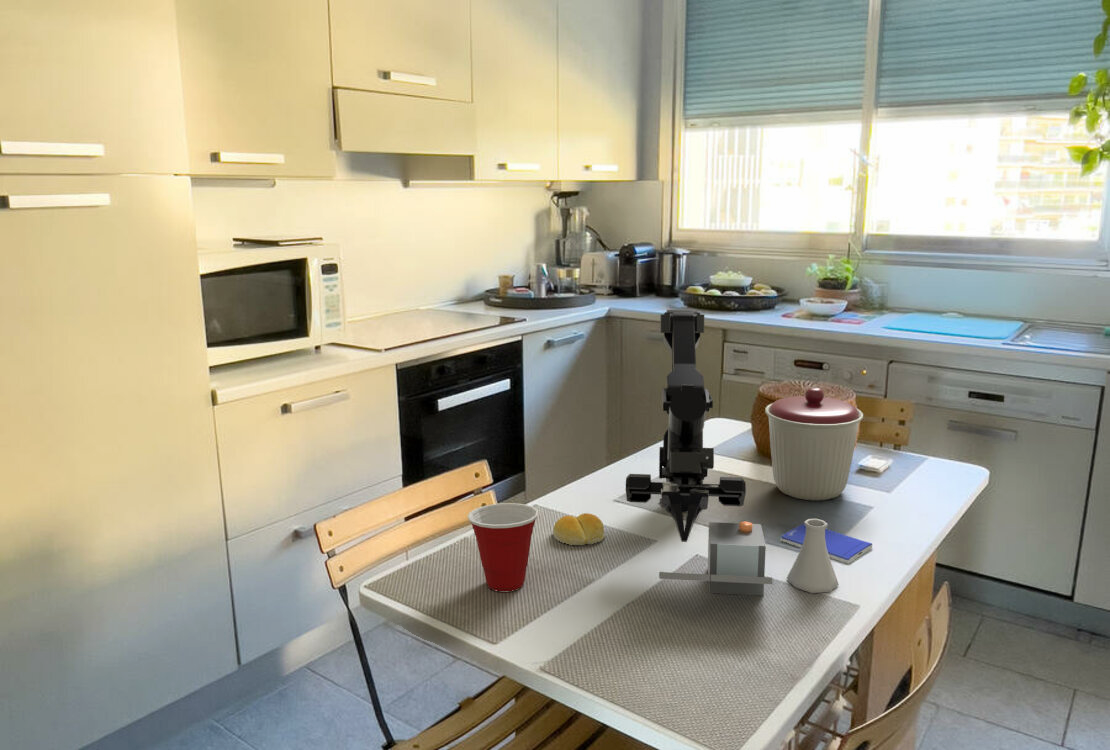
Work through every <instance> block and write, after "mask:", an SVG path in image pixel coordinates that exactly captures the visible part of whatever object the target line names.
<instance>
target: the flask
mask: <svg viewBox="0 0 1110 750" xmlns="http://www.w3.org/2000/svg"><path fill="white" fill-rule="evenodd" d="M803 523H804V525H805V526H806V534H805V538H804V542H803V545H802V548H800V550H799V553H798V555H797V557H796V559H795V560H794V563H793V564H792V567H791V569H790V571H789V573H788V574H787V577H786V579H787V580H788V582H789V583H790V584H791V585H792V586H793V587H794V588H796V589H799V590H802V591H805V592H808V593H811V594H815V593H826V592H827V593H829V592H831V591H833V590H834V589H835V588H837V587H838V586H839V581H838V579H837V575H836V573H835V570H834V567H833V564H832V561H831V558H830V557H829V554H828V551H827V548H826V541H825V529H828V528H827V527H828V522H826V521H825V520H822V519H820V518H819V519H818V518H808V519H806V520H805V521H803Z"/></svg>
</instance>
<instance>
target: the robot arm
mask: <svg viewBox="0 0 1110 750" xmlns="http://www.w3.org/2000/svg"><path fill="white" fill-rule="evenodd" d="M659 319H660V321H659V322H660V323H659V325H660V326H659V328H660V329H659V333H660V334H663V345H664V347H665V348H666V350H667V351H668V353H669V354H670V356H671V371H669V373H668V374H667V375H666V387H662V411H663V412H666V414H667V415H668V426H667V427H668V428H667V430H666V431H665V433H664V434H663V438H662V439H663V441H662V446H660V447H659V449H658V450H659V452H658V455H659V458H658V459H659V461H658V465H659V466H658V472H659V473H658V479H662V480H663V479H665V481H662V482H661V481H660V482H657V481H652V474H646V473H629V474H628V475H627V476H626V477H625V495H626V501H627V502H629V503H640V504H642V503H643V504H646V503H648V502H649V501H650V500H651V499H652V495H660V497H661V498H659V502H660V503H661V508H663V509H666V510H667V512H668V513H669V514H670V515H671V517H672V520H674V524H675V526H676V528H677V530H676V531H677V532H678V535H679V537H680V540H681V543H687V542H688V540H689V537H690V535H691V532H692V529H693V526H694V523H695V521H696V519H697V518H698V516H699V514H700V513H701V511H703V510H707V509H708V505H709V497H715V498H716V497H717V498H718V503H720V504H721V505H722V506H724V507H742V506H744V504H745V499H746V495H747V490H746V489H747V488H746V485H747V483H746V480H744V479H743V477H734V476H719V484H716V483H715V484H714V483H713V484H712V483H704V481H705V478H707V477H708V471H709V470H713V469H714V466H715V465H714V464H715V462H714V461H715V460H714V458H715V448H714V447H704V428H705V421H706V413H708V412H710V409H713V407H714V404H713V403H714V399H713V397H712V395H711V394H710V391H709V389H708V388H705V381H704V375H703V373H701V372H700V371H699V370H698V368H697V361H696V360H697V357H696V355H697V354H696V351H697V349H698V347H699V345H700V340H701V334H705V314H701V312H699V311H698V309H666V311H665V312H663V314H660V318H659ZM685 512H686V519H685V523H684V516H683V513H685Z"/></svg>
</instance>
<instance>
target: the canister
mask: <svg viewBox="0 0 1110 750" xmlns="http://www.w3.org/2000/svg"><path fill="white" fill-rule="evenodd" d="M764 411H765V412H764V413H765V414H766V415H767V417H768V427H769V428H768V429H769V442H770V443H769V446H770V455H771V465H772V476H773V480H774V484H775V486H776V487H777V489H779V491H781V492H782V493H783V494H785V495H787V496H789V497H791V498H792V497H793V498H796V499H798V500H799V499H800V500H805V501H814V502H815V501H826V500H830V499H831V500H832V499H834V498H837V497H838V496H840V495H841V494H842V493H843V491H845V488H846V487H847V484H848V479H849V476H850V475H849V474H850V471H851V467H852V462H853V461H852V460H853V456H854V451H855V445H856V441H857V435H858V430H859V424H860V422H861V421H862V420H863V419H864V413H863V412H862V411H861V410H860V409H858V408H857V407H855V406H854V405H853V404H851V403H849V402H847V401H845V400H843V399H841V400H840V399H837V398H833V397H826V396H825V393H824V390H822V388H819V387H809V388H807V389H806V390H805V392H804V395H796V396H788V397H783V398H780V399H777V400H775V401H774V402H772V403H769V404H767V406H765V410H764Z"/></svg>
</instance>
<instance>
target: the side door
mask: <svg viewBox="0 0 1110 750" xmlns="http://www.w3.org/2000/svg"><path fill="white" fill-rule="evenodd" d="M659 580H676V581H679V580H680V581H695V582H696V581H697V582H698V581H699V582H708V581H713V582H732V583H752V584H764V585H773V577H771V576H769V577H768V576H767V577H766V576H764V577H751V576H731V575H710V574H708V573H707V574H706V573H705V574H704V573H688V572H666V571H659Z"/></svg>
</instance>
